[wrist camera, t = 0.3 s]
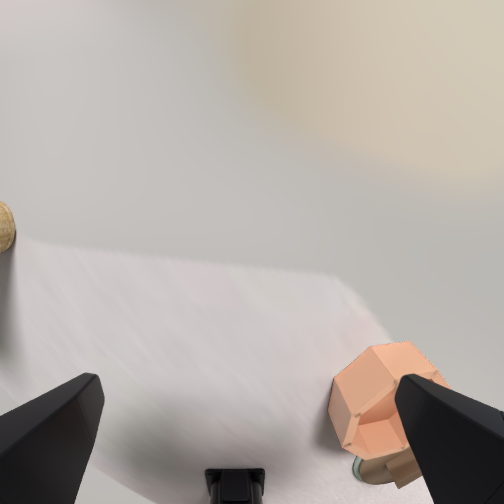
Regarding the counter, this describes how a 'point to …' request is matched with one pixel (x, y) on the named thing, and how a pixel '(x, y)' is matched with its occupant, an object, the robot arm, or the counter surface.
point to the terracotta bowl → (375, 398)
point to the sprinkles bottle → (6, 227)
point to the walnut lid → (390, 469)
